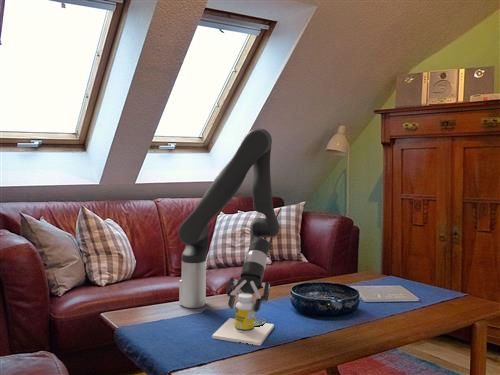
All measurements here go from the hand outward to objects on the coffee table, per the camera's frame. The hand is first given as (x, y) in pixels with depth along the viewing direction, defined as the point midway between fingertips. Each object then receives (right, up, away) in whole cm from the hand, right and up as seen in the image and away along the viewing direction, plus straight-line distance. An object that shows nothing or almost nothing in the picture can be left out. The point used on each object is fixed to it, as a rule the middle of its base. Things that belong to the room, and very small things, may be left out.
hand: (243, 309), depth 159 cm
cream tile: (0, -8, +2) cm, 9 cm away
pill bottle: (0, -7, +2) cm, 8 cm away
